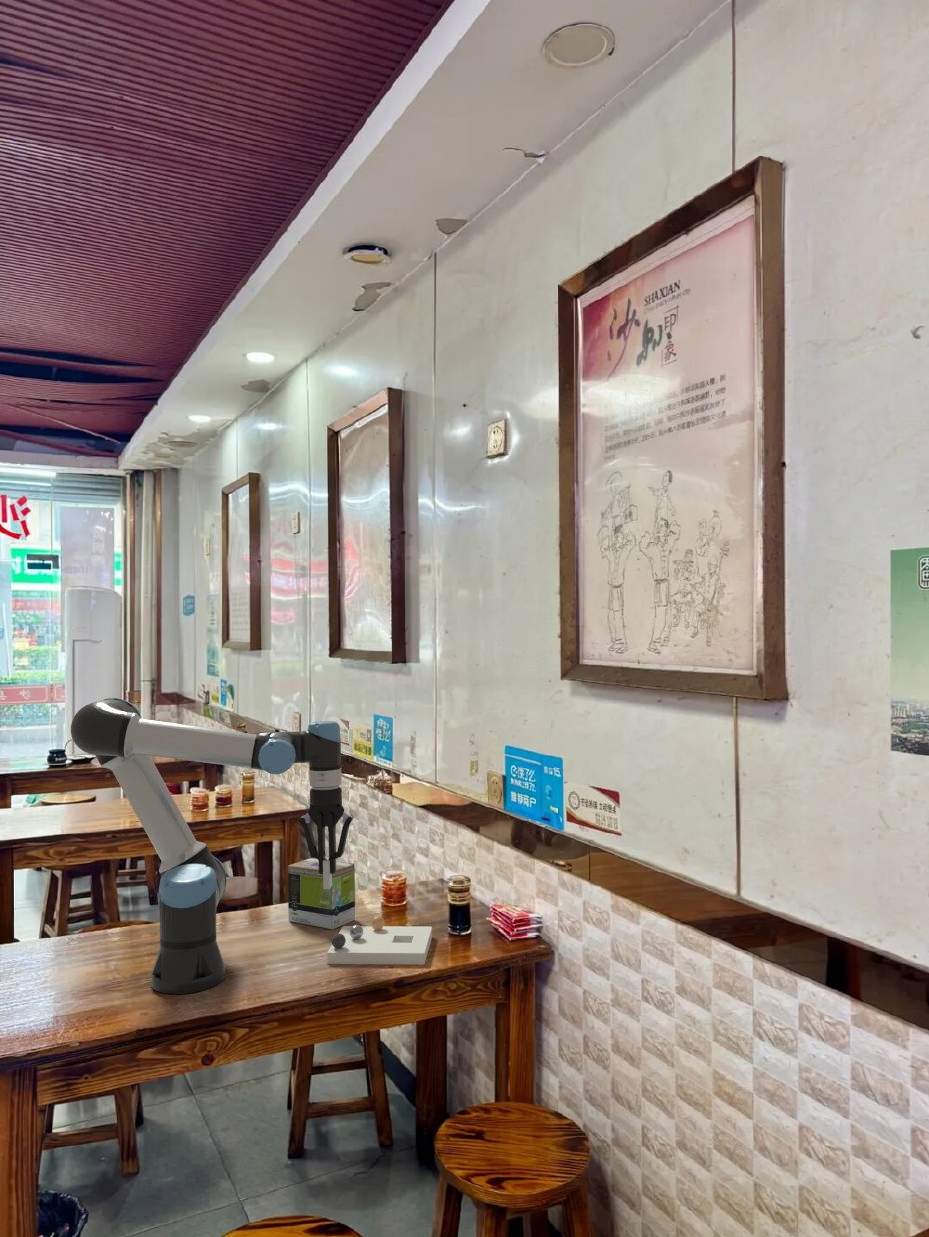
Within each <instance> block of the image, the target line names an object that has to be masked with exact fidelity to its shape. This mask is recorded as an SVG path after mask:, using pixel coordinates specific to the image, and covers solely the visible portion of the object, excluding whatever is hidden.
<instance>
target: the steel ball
mask: <svg viewBox="0 0 929 1237" xmlns="http://www.w3.org/2000/svg"><path fill="white" fill-rule="evenodd" d="M351 926H352V927H351V929H350V936H351V937H352V938H353V939H359V938H361V937H362V935H363V929H362V927H361V925H360V924H354V925H351Z"/></svg>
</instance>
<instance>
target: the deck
mask: <svg viewBox="0 0 929 1237" xmlns="http://www.w3.org/2000/svg"><path fill="white" fill-rule="evenodd" d="M352 926H353V925H349V926H346V925H342V926H341V929H340V931H339V933H338V934H342V935H344V937H345V939H346V942H345V945H344V946H343V947H342V948H335V947H334V946H333V945H332V944H331V945H330V947H329V949H328V951H327V952H326V962H327V964H326V965H414V966H415V965H419V966H421V965H426V964H425V963H426V961H427V957H428V953H429V950H430V948H431V943H432V939H433V926H413V925H412V926H410V925H409V926H399V925H398V926H395V925H394V926H390V925H389V926H388V925H387V926H386V925H384V926H383V928H382V929H380V930H375V929H373V928H372V926H371V925H370V926H367V925H365V926H364V925H362V926H361V925H360V926H361V927H362V929H363V935H362V937H361V938H359V939H353V938H352V937H351V936H350V929H351V927H352Z"/></svg>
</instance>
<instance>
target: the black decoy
mask: <svg viewBox="0 0 929 1237" xmlns="http://www.w3.org/2000/svg"><path fill="white" fill-rule="evenodd" d="M345 942H346V939H345V937H344V935H342V934H339V933H336V934H335V933H334V935H333V936H332V938H331V946H332V945H333V946H334V947H335V948H342V947H343V946H344V945H345Z"/></svg>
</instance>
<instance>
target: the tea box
mask: <svg viewBox="0 0 929 1237" xmlns="http://www.w3.org/2000/svg"><path fill="white" fill-rule="evenodd" d="M355 871H356V869H355V863H354V862H353V863H352V862H345V861H337V860H336V871H335V873H334V874H332V887H331V888H330V889H323V874H320V873H319V861H318V859H316V858H312V857H311V858H307V859H303V860H301V861H298V862H295V863H292V864H289V865H287V906H288V907H287V908H288V912H287V913H288V914H287V915H288V916H287V917H288V918H287V919H288V922H293V923H297V924H303V925H308V926H313V927H319V928H323V929H328V930H334V929H337V928H339V927H343V926H345V925H346V924H348V923H350V922H353V921H354V920H355V919H356V885H355V884H356V882H355V880H356V879H355V878H356V876H355V875H356V874H355V873H356V872H355Z"/></svg>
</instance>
